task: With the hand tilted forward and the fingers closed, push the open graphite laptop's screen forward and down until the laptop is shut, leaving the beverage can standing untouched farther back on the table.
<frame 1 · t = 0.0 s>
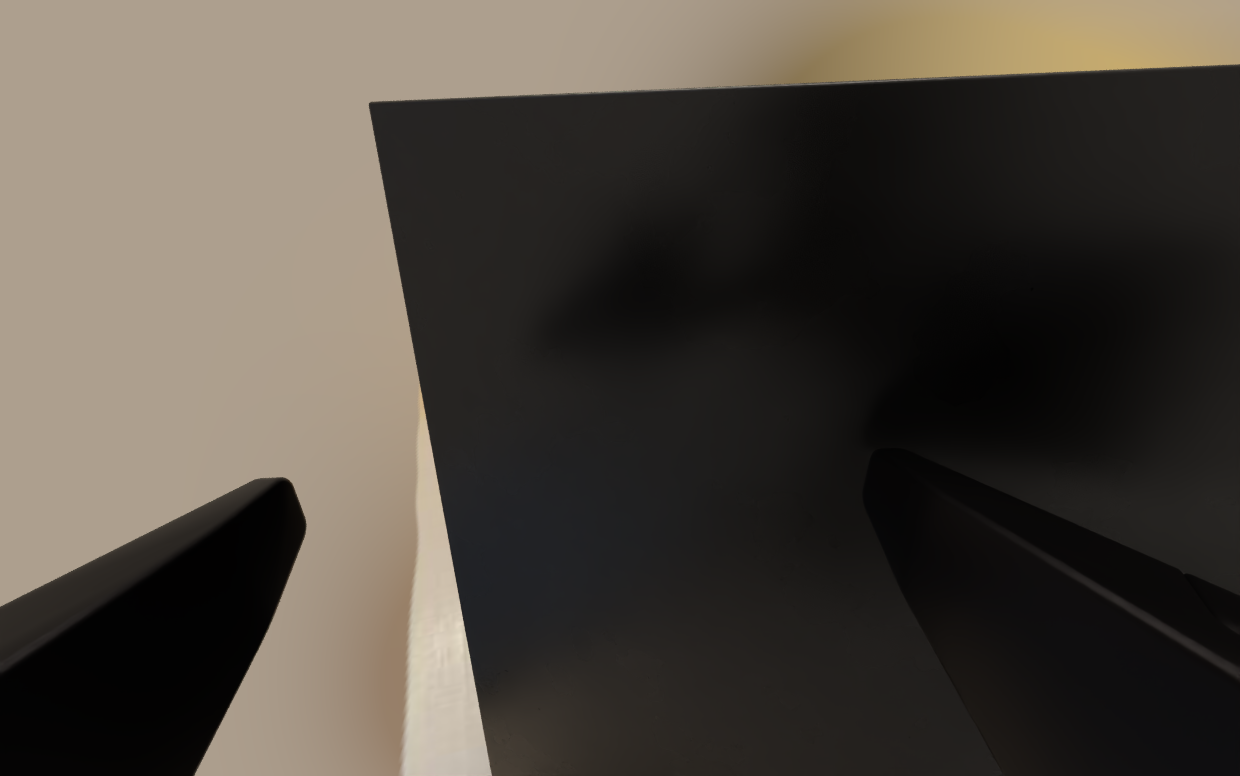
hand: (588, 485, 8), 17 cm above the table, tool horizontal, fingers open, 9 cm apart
laptop screen: (1139, 711, 10), point 12 cm above the table, hinge at 87.8°
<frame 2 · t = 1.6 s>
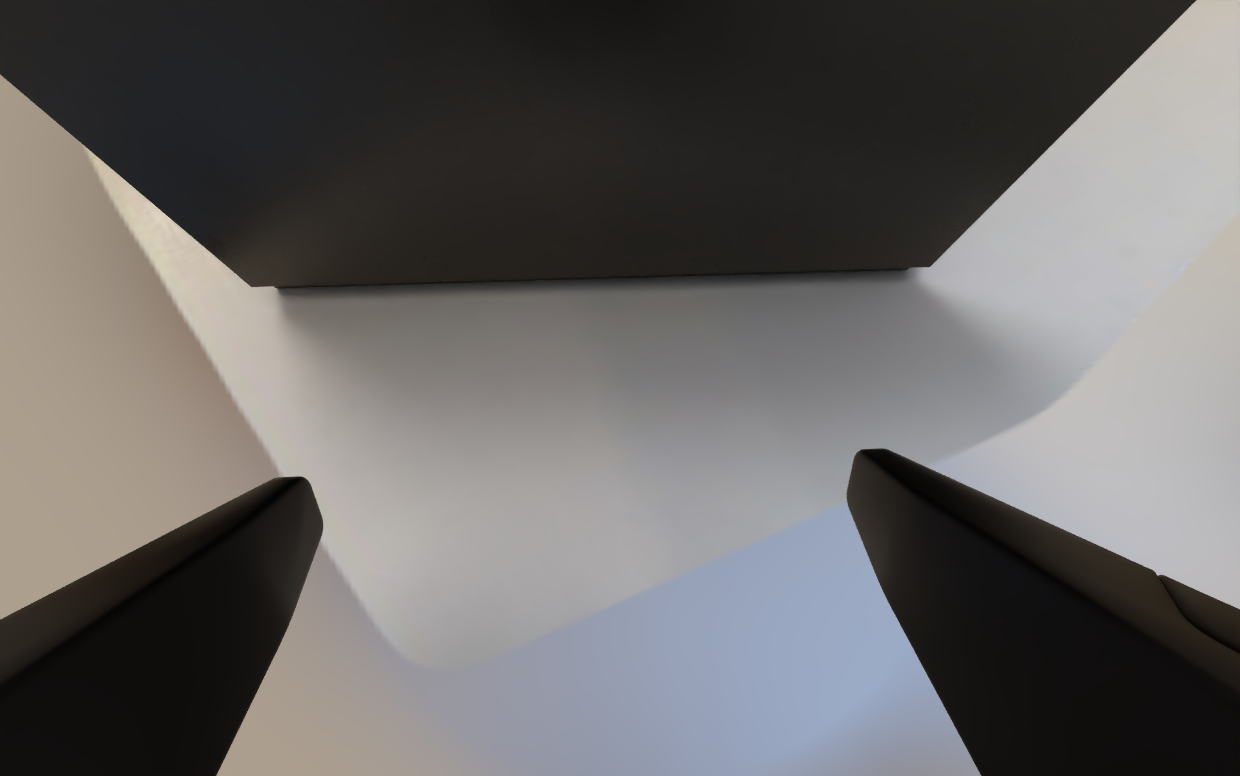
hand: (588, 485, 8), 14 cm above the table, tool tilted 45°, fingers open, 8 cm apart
laptop screen: (591, 37, 13), point 12 cm above the table, hinge at 87.8°
laptop: (592, 107, 28), on the table
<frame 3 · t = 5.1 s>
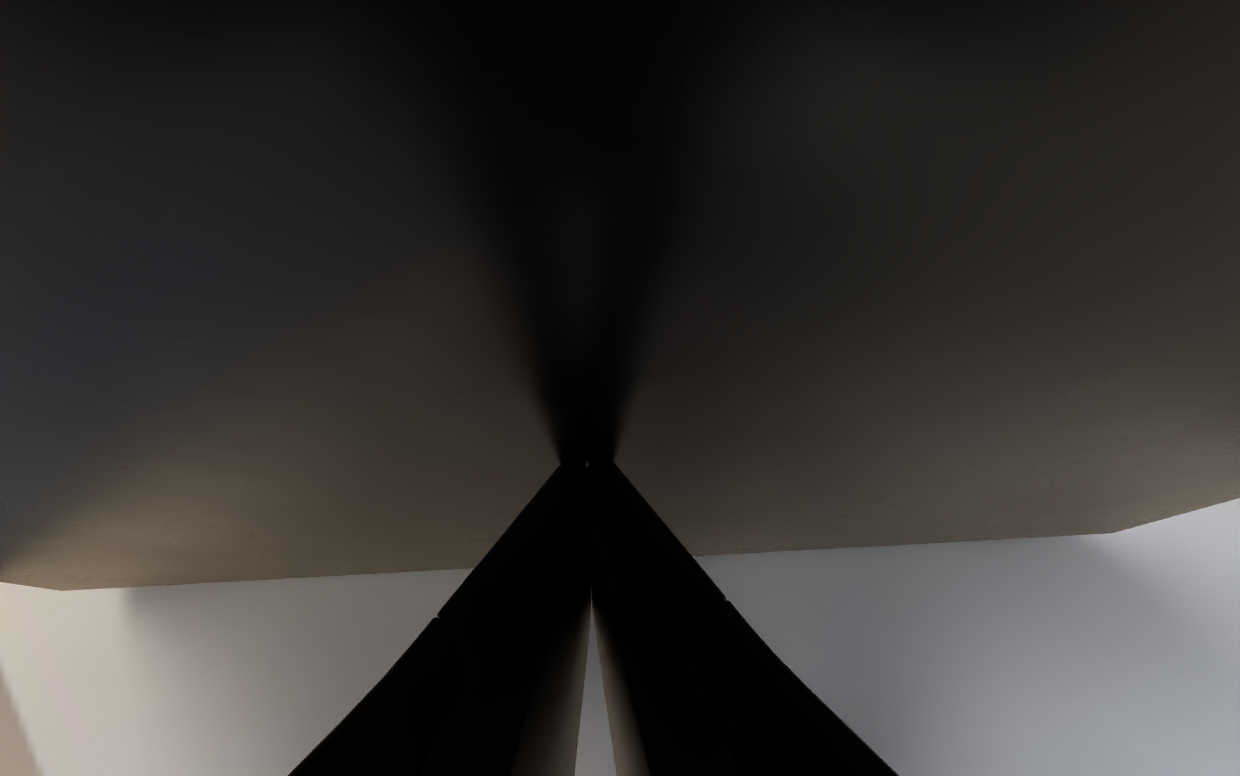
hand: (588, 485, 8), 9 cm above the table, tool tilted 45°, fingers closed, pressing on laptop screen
laptop screen: (597, 352, 6), point 12 cm above the table, hinge at 80.5°, touching gripper
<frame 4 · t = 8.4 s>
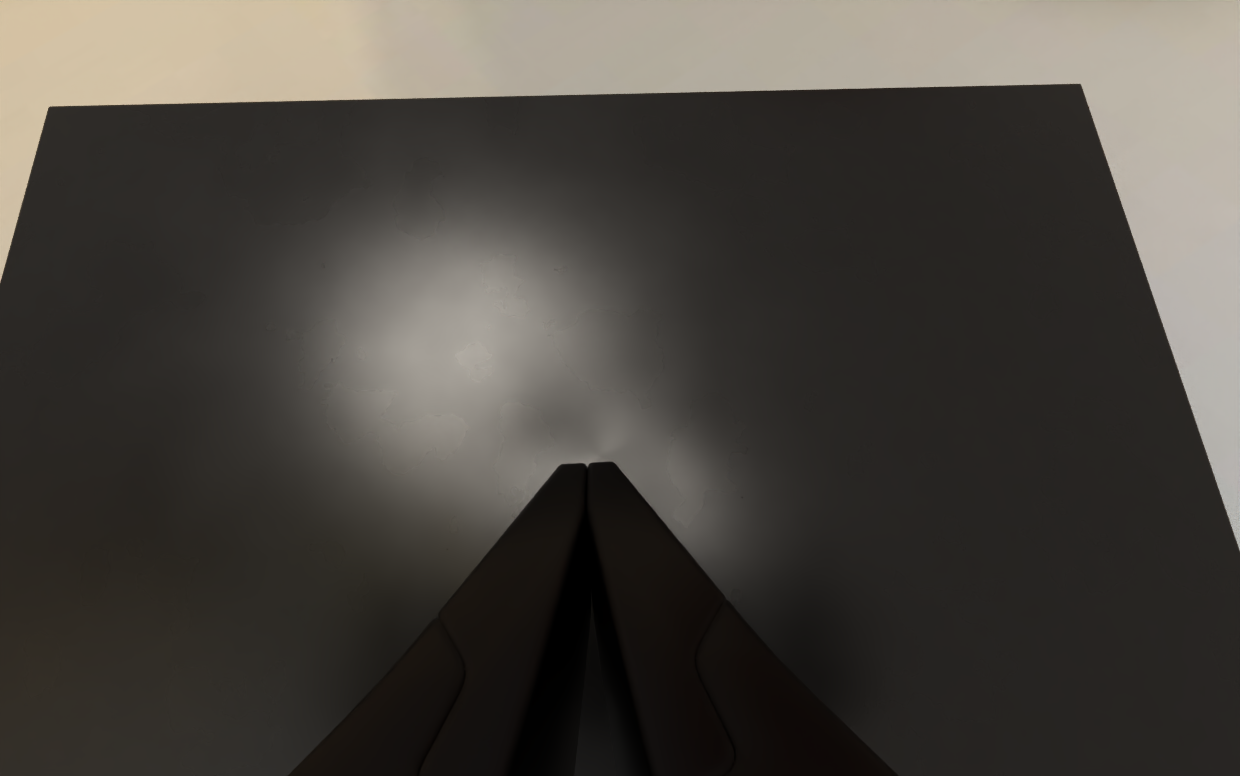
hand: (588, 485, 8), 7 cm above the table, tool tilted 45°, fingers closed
laptop screen: (599, 456, 13), point 3 cm above the table, hinge at 3.4°, touching laptop
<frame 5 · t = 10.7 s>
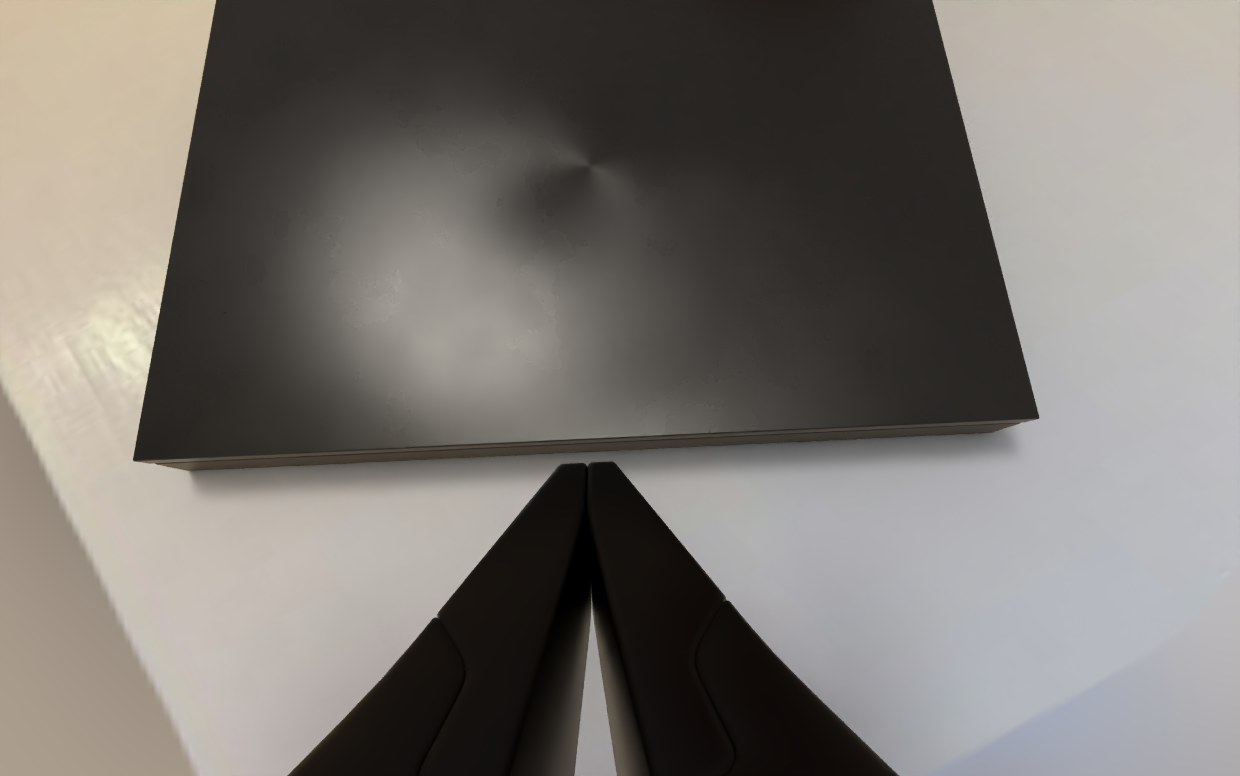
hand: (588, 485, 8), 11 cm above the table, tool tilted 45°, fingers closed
laptop screen: (589, 172, 20), point 3 cm above the table, hinge at 3.4°, touching laptop
laptop: (591, 212, 23), on the table
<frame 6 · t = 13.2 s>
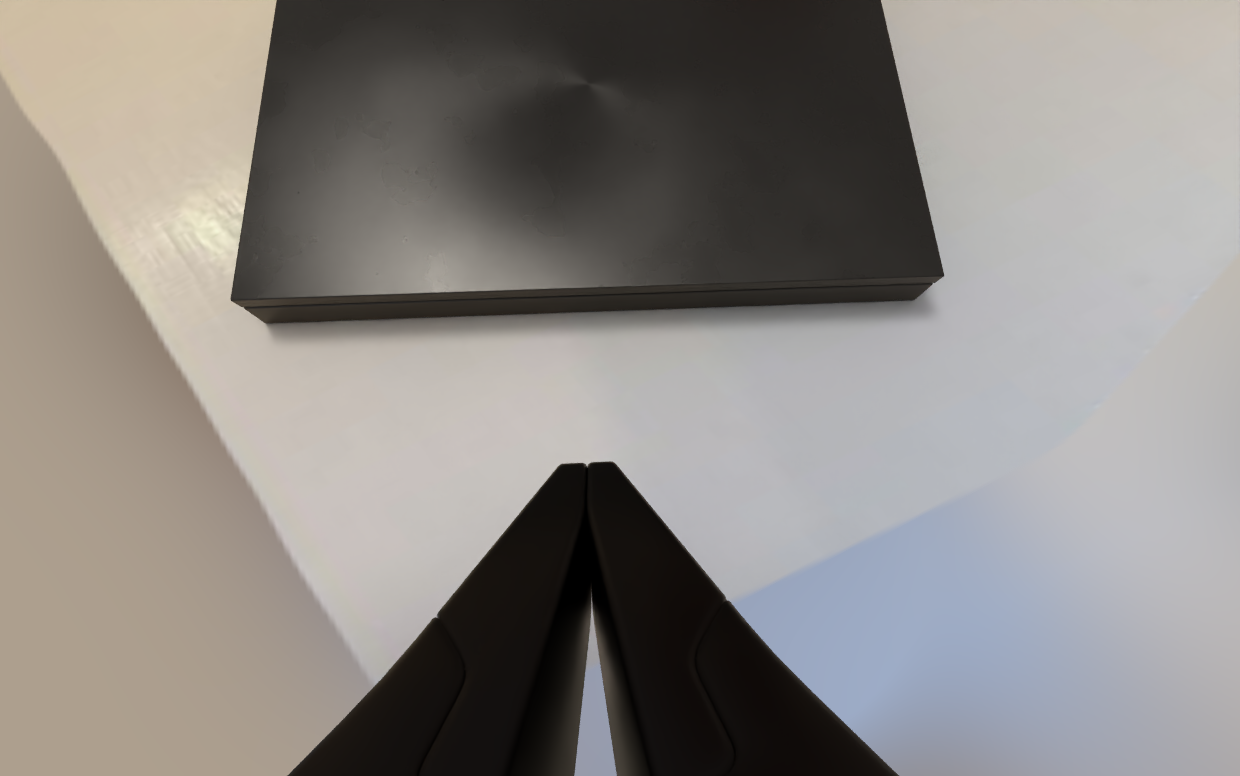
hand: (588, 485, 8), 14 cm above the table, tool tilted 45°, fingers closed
laptop screen: (588, 90, 25), point 3 cm above the table, hinge at 3.4°, touching laptop
laptop: (589, 131, 27), on the table
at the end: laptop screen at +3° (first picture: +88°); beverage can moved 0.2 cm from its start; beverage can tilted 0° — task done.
